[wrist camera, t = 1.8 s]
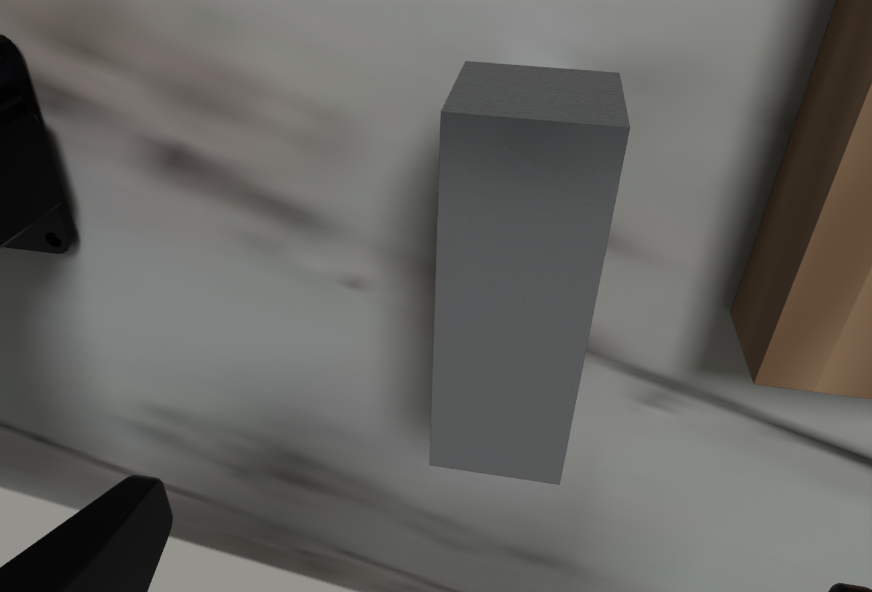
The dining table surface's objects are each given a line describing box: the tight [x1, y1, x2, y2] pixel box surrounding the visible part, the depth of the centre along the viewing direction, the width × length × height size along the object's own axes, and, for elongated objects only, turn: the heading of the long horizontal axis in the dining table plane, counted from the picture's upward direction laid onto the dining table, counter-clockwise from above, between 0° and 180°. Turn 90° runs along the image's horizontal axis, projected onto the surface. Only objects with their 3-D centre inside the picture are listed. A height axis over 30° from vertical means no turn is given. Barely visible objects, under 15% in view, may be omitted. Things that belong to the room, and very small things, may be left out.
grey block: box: [429, 61, 630, 485], centre depth 16 cm, size 3×8×6 cm, turn 178°
